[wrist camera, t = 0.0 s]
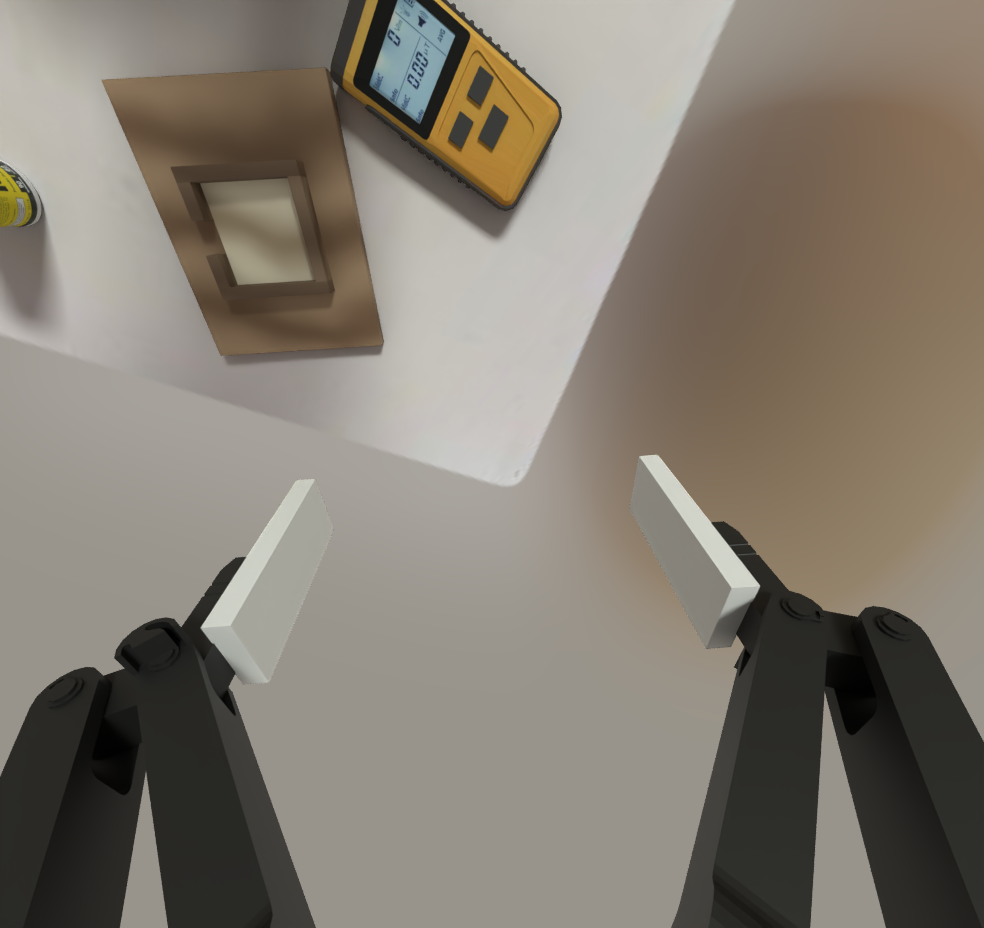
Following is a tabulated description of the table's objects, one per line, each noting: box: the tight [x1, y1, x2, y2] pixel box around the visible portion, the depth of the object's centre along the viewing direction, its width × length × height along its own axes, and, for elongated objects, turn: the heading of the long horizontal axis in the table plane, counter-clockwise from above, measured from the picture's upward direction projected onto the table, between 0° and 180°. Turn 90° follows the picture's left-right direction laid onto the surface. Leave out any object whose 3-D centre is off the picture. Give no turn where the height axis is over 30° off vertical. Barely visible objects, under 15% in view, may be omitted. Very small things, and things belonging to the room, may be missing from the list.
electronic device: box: [330, 0, 562, 211], centre depth 29 cm, size 8×16×3 cm, turn 58°
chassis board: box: [102, 68, 384, 356], centre depth 33 cm, size 20×16×3 cm
